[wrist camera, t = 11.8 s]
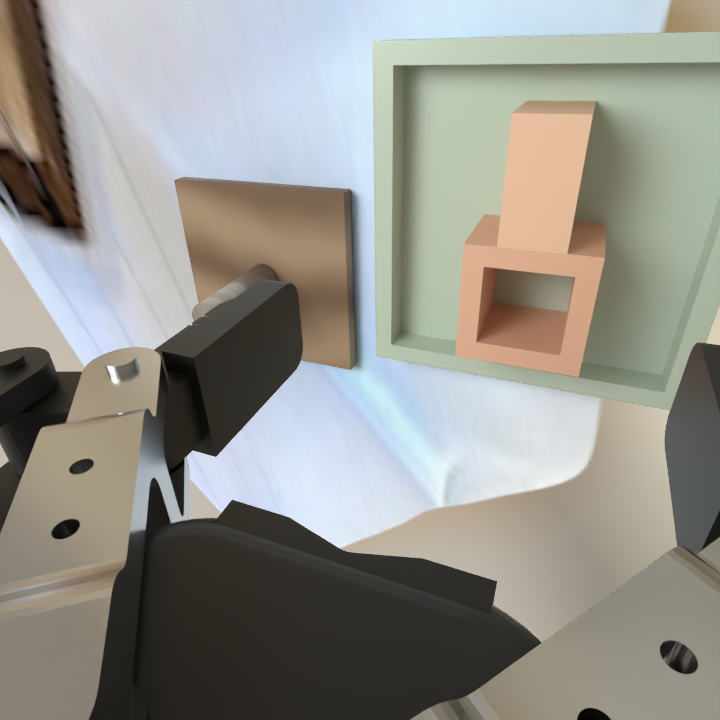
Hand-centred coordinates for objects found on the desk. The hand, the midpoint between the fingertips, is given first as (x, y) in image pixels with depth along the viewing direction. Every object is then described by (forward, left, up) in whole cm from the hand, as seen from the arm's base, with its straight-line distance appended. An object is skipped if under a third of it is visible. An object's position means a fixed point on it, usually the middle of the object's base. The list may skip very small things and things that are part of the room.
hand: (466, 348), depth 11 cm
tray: (+3, 0, -20) cm, 20 cm away
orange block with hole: (+3, 0, -19) cm, 19 cm away
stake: (+8, -17, -20) cm, 27 cm away
